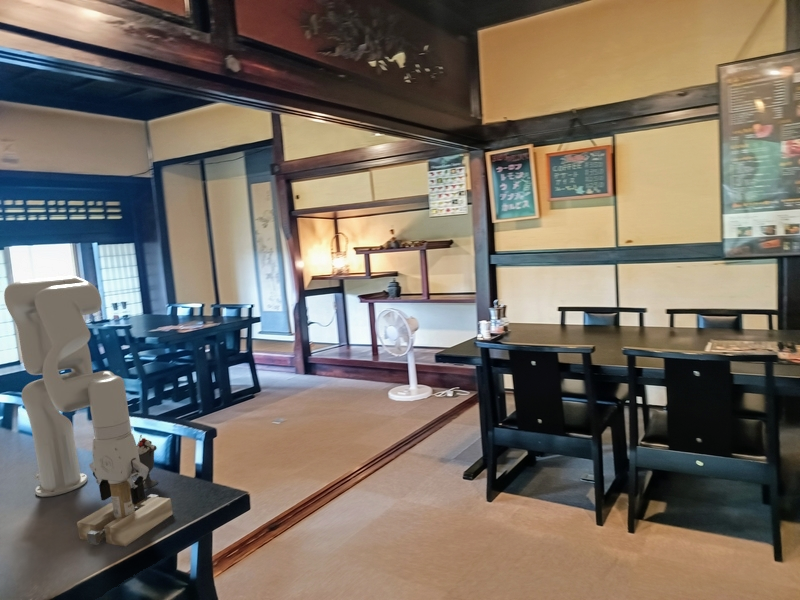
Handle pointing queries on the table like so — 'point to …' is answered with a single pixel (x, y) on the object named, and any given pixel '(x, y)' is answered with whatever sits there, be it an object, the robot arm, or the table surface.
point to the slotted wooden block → (126, 521)
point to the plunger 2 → (148, 498)
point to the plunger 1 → (95, 536)
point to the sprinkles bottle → (121, 498)
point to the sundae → (147, 459)
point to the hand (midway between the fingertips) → (123, 499)
